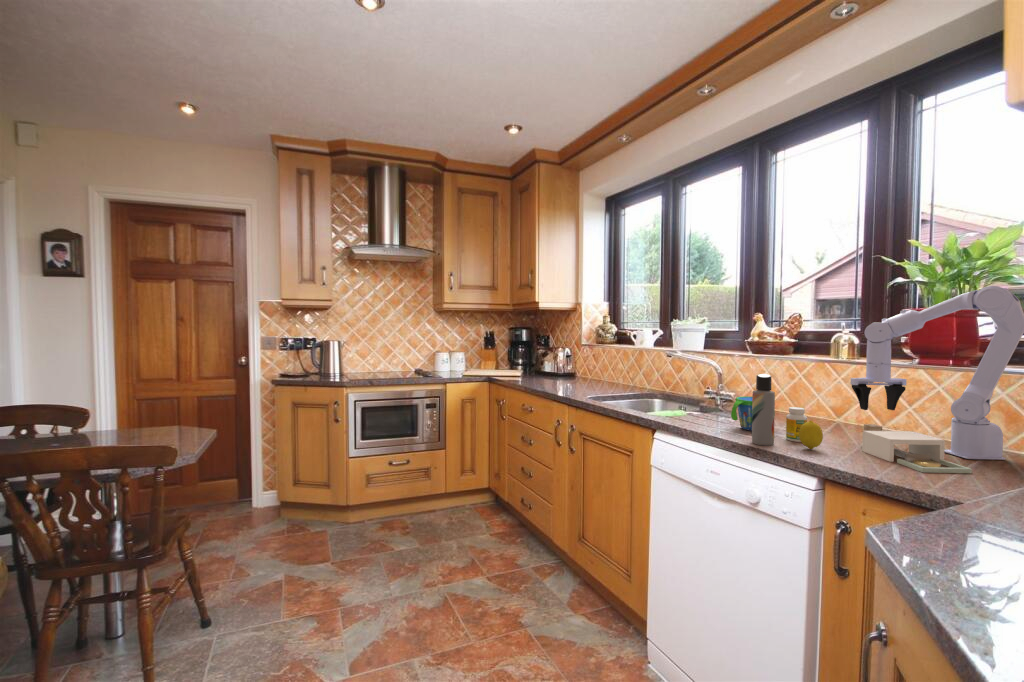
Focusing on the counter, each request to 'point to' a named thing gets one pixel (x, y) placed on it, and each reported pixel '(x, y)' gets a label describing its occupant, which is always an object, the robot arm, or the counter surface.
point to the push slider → (898, 452)
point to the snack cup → (743, 412)
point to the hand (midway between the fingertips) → (877, 409)
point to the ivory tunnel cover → (885, 440)
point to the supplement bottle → (794, 423)
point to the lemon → (811, 434)
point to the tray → (954, 467)
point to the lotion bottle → (763, 411)
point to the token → (926, 463)
